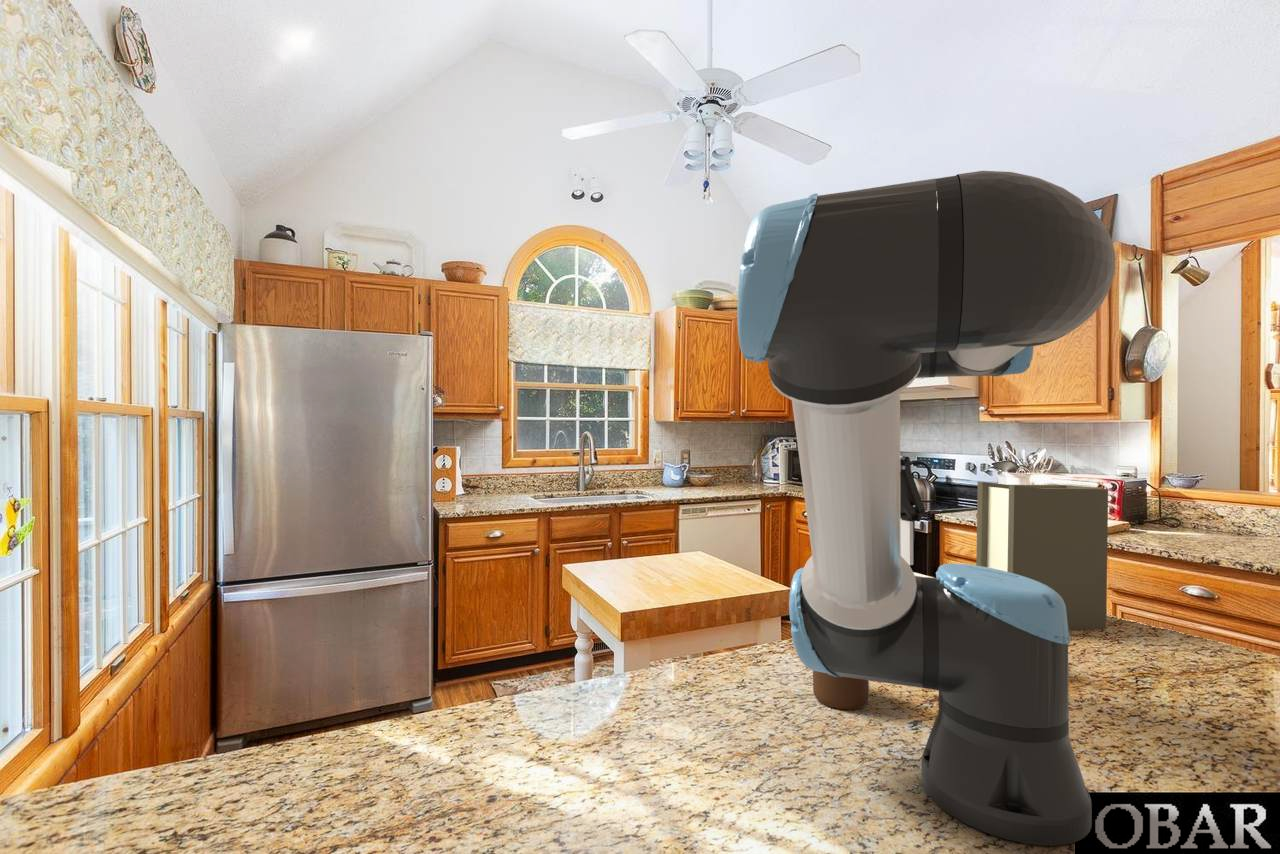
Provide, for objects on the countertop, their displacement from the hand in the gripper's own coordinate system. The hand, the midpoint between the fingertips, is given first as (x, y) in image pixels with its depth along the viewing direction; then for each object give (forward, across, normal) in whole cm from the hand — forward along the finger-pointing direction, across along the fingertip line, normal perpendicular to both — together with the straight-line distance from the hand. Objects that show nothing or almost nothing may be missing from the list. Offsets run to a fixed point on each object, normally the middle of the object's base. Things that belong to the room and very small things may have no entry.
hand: (871, 568), depth 89 cm
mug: (+18, -6, +2) cm, 19 cm away
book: (+18, +53, +7) cm, 57 cm away
